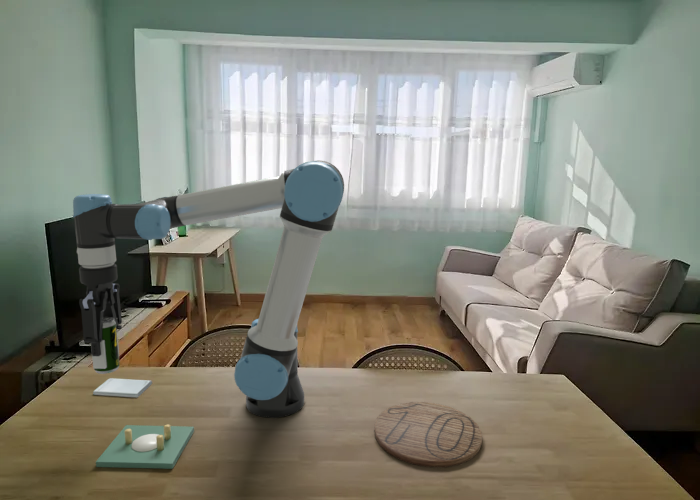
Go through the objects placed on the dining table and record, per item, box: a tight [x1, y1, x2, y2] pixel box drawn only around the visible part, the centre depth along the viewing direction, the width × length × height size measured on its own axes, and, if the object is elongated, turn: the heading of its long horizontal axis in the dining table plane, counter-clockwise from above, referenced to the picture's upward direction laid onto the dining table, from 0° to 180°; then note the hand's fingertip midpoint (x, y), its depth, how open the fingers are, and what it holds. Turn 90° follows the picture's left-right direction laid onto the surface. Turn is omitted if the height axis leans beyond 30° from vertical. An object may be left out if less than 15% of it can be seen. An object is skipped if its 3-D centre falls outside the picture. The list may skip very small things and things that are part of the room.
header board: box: [95, 424, 195, 470], centre depth 110 cm, size 16×14×4 cm
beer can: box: [93, 317, 121, 375], centre depth 114 cm, size 5×5×12 cm
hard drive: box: [92, 377, 153, 398], centre depth 137 cm, size 2×8×12 cm
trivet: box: [374, 401, 483, 468], centre depth 118 cm, size 25×25×2 cm
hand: (106, 362), depth 115 cm, fingers closed on beer can, 5 cm apart
